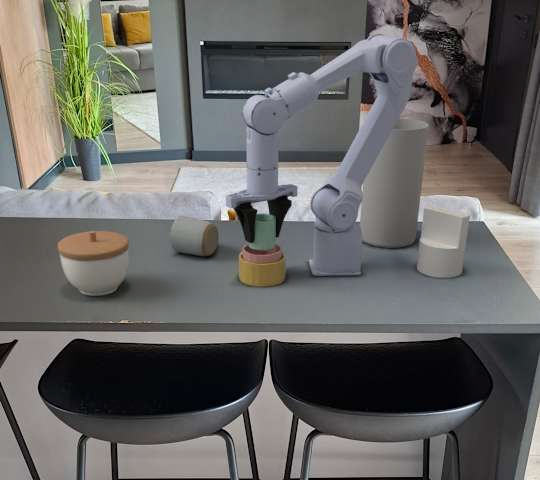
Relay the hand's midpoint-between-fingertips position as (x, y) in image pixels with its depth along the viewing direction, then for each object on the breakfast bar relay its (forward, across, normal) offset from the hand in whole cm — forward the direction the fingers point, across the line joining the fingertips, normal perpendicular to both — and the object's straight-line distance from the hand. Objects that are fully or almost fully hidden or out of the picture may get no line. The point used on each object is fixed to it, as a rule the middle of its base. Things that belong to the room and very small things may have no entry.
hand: (262, 238), depth 135 cm
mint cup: (+1, 0, 0) cm, 1 cm away
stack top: (+8, 0, 0) cm, 8 cm away
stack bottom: (+8, 0, 0) cm, 8 cm away
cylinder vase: (+8, -36, -4) cm, 37 cm away
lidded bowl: (+8, +29, -12) cm, 32 cm away
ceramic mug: (+8, +4, -20) cm, 21 cm away
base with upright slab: (+8, -33, +15) cm, 37 cm away
